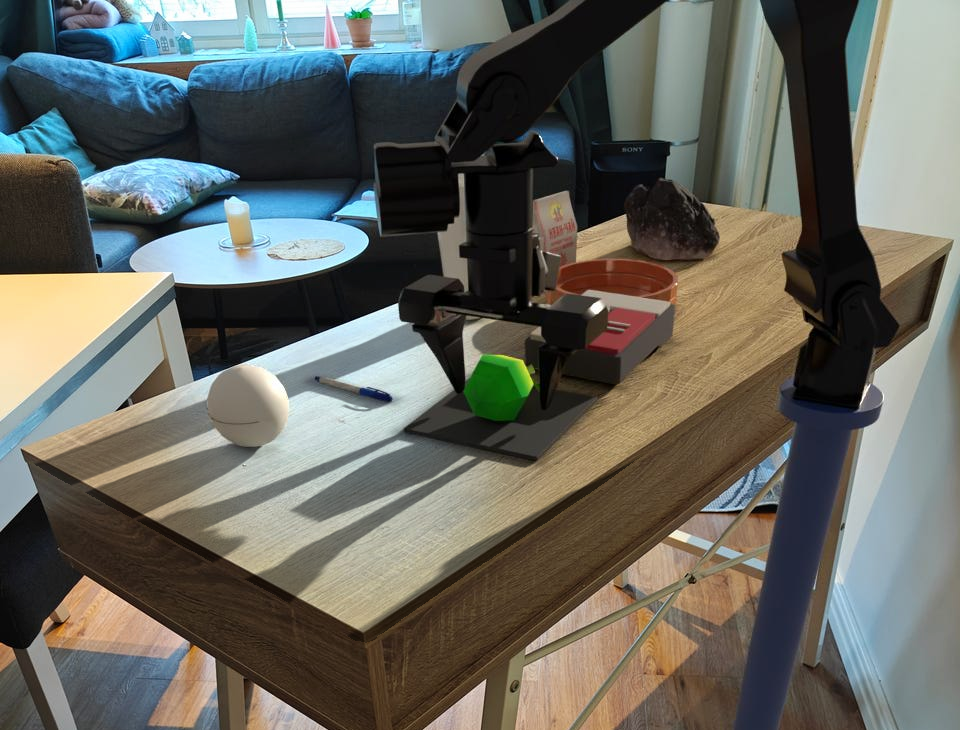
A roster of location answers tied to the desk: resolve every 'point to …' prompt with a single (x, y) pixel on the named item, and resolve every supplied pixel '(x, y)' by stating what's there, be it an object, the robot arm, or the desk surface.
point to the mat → (503, 423)
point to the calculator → (615, 338)
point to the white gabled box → (556, 226)
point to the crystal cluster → (669, 222)
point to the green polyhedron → (499, 387)
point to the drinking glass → (455, 245)
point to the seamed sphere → (248, 405)
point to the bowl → (616, 279)
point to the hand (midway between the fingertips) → (502, 400)
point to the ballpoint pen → (356, 389)
